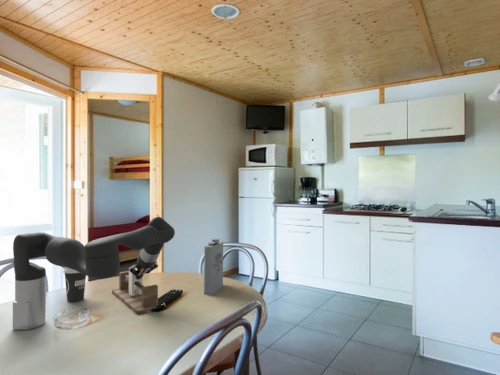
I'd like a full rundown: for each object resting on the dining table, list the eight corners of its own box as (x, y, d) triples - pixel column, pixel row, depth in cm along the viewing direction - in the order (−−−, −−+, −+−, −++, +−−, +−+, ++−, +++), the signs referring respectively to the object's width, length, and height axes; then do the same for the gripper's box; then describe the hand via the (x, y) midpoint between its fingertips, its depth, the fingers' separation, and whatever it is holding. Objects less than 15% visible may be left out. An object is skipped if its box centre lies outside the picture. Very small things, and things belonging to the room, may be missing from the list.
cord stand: (165, 307, 136) (165, 284, 136) (137, 314, 128) (137, 290, 128) (137, 288, 161) (137, 268, 160) (112, 293, 153) (112, 272, 153)
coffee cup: (69, 305, 137) (69, 269, 137) (59, 300, 143) (59, 266, 143) (91, 298, 145) (91, 265, 145) (81, 294, 151) (81, 262, 151)
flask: (212, 295, 151) (212, 241, 151) (202, 294, 153) (203, 241, 152) (225, 284, 168) (225, 236, 168) (217, 283, 169) (217, 235, 169)
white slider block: (142, 293, 146) (142, 269, 146) (131, 296, 143) (132, 271, 143) (138, 291, 149) (138, 267, 149) (128, 293, 146) (128, 269, 146)
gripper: (135, 264, 128) (124, 288, 138) (166, 260, 137) (154, 282, 146) (130, 249, 133) (120, 272, 142) (161, 245, 141) (150, 268, 150)
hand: (138, 277), depth 144 cm, fingers closed
